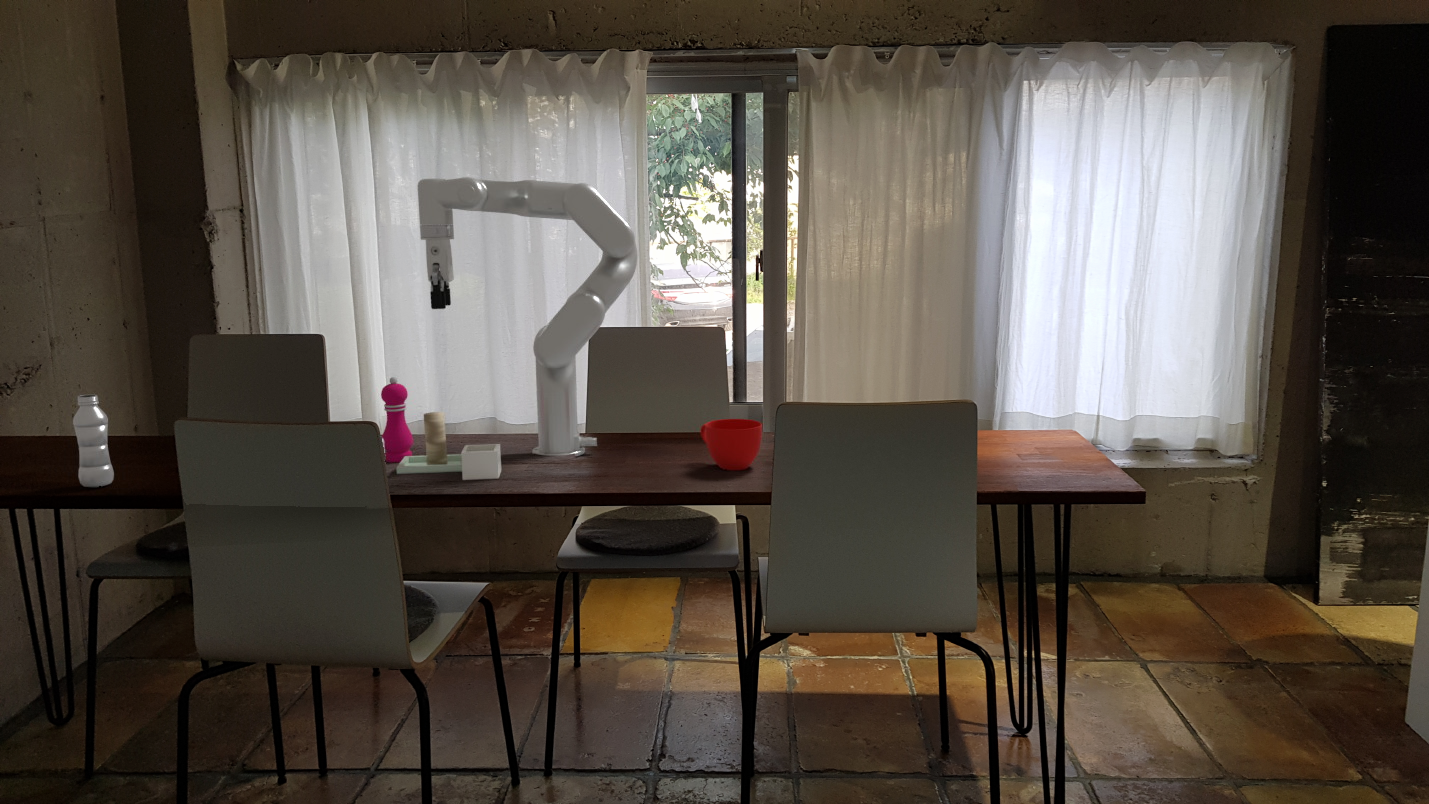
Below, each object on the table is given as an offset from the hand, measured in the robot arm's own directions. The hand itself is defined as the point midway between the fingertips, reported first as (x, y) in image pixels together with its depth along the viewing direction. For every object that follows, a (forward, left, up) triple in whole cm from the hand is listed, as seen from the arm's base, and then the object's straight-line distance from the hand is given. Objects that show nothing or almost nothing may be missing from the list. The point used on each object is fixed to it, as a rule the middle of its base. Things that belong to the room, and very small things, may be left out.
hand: (441, 307), depth 245 cm
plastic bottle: (+73, +16, -36) cm, 83 cm away
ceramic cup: (-65, +19, -36) cm, 77 cm away
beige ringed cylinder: (+1, +13, -35) cm, 37 cm away
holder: (-10, +23, -36) cm, 44 cm away
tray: (+1, +13, -36) cm, 39 cm away
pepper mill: (+12, 0, -36) cm, 38 cm away
